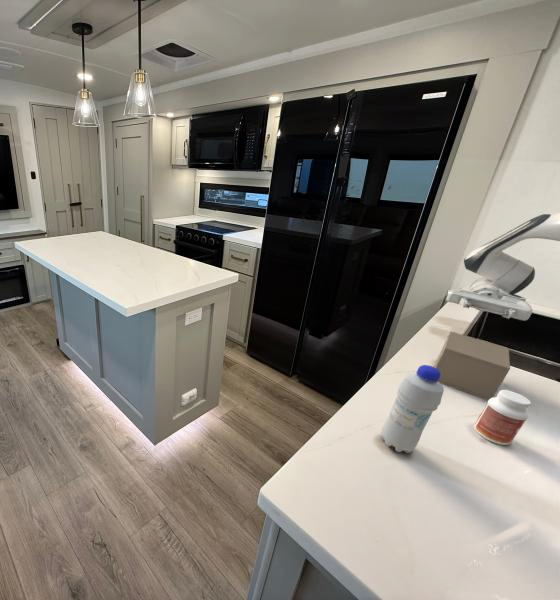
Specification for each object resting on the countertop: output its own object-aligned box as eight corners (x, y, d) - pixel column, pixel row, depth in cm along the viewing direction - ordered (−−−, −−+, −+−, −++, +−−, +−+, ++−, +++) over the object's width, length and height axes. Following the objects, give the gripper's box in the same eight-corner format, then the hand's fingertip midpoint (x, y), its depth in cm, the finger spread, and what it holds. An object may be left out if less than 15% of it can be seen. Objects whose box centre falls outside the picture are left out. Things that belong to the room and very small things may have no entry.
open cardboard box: (436, 359, 99) (450, 331, 95) (490, 378, 91) (508, 348, 87) (430, 378, 90) (445, 347, 85) (490, 401, 82) (510, 368, 77)
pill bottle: (515, 450, 67) (542, 411, 63) (477, 438, 70) (501, 399, 65) (503, 431, 72) (528, 393, 68) (469, 420, 75) (490, 383, 70)
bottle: (370, 434, 69) (401, 360, 61) (391, 428, 71) (425, 356, 63) (399, 460, 63) (438, 381, 55) (422, 452, 65) (463, 375, 57)
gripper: (451, 281, 113) (449, 292, 104) (532, 299, 101) (537, 312, 92) (444, 297, 116) (441, 308, 107) (522, 316, 104) (526, 331, 95)
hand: (486, 310), depth 99 cm, fingers open, 8 cm apart
